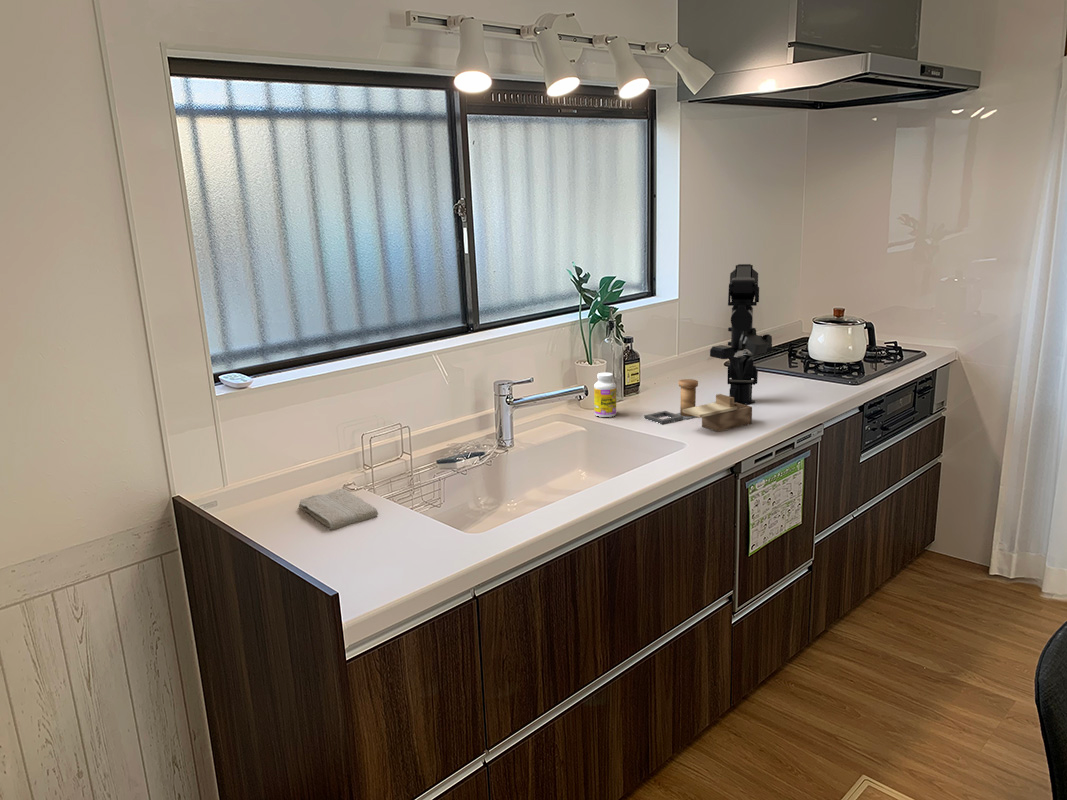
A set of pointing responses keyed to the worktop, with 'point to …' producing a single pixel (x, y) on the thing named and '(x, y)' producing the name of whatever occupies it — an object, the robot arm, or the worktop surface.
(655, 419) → the keeper
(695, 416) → the felt pad
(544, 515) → the worktop surface
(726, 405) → the lid
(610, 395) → the supplement bottle
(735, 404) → the toolbox
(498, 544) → the worktop surface
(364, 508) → the washcloth
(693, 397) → the key peg
